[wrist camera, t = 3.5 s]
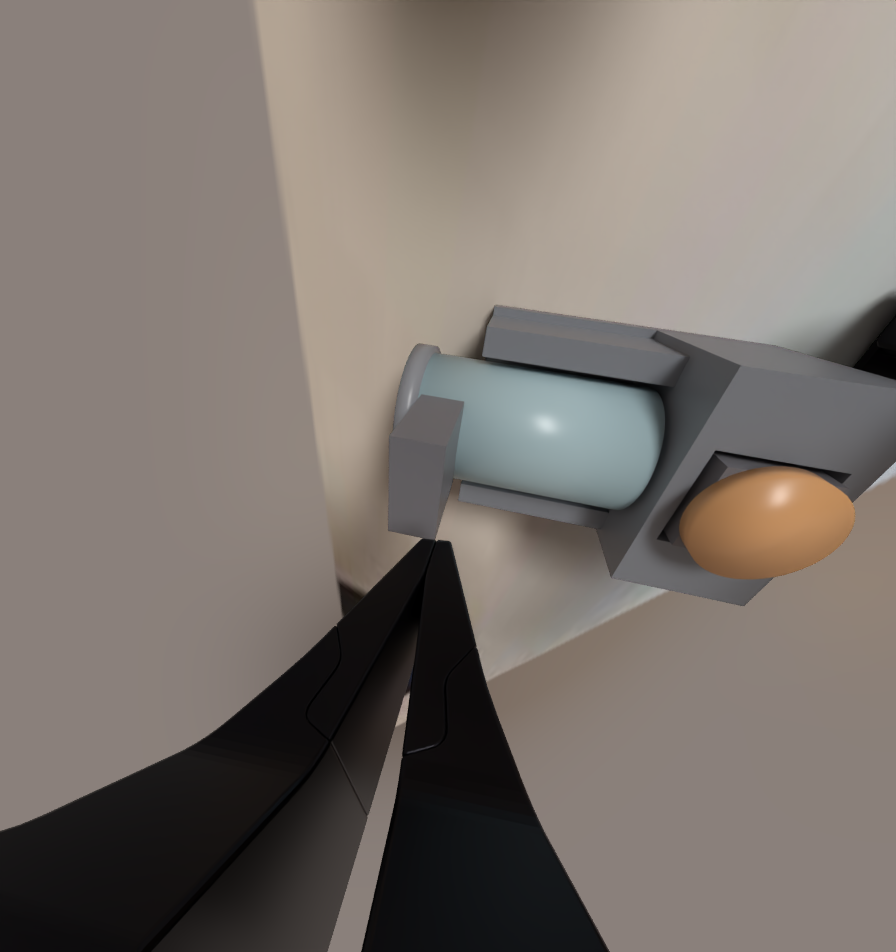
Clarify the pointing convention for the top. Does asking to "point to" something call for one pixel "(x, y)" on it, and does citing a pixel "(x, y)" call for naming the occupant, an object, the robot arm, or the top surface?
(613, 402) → the cartridge
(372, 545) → the top surface
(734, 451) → the housing
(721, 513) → the plunger
